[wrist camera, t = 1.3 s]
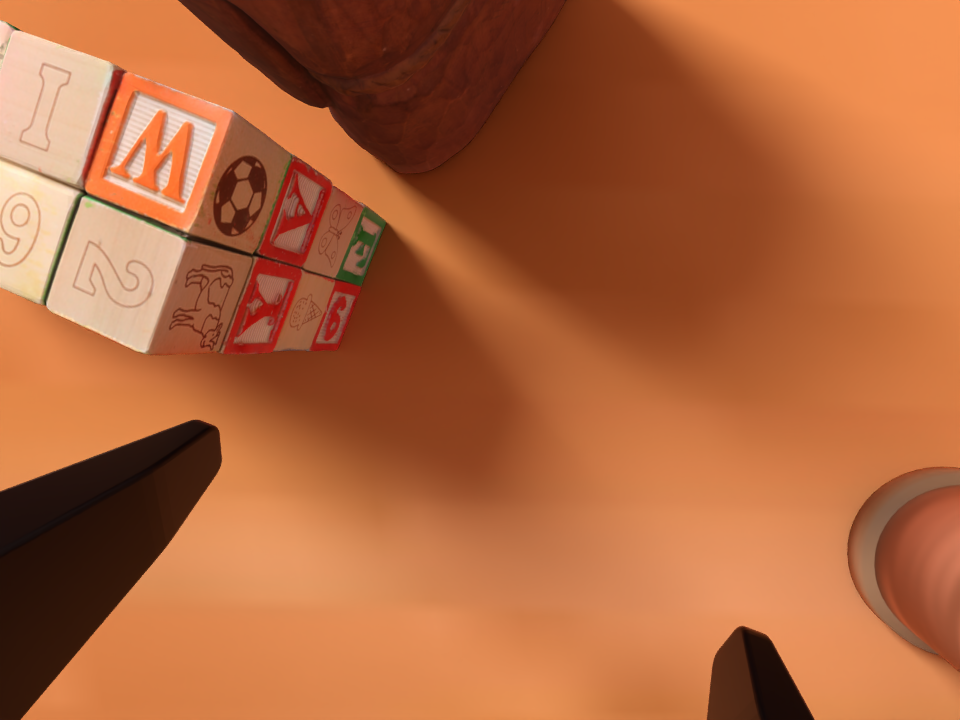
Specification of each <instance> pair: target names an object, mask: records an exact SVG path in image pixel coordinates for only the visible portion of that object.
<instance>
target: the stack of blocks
mask: <svg viewBox="0 0 960 720" xmlns="http://www.w3.org/2000/svg"><path fill="white" fill-rule="evenodd" d="M385 225H386V221H385V220H384V219H382V218H381V217H380V216H379V215H378V214H376V213H375V212H374V211H372V210H371V209H370V208H369V207H367V206H366V205H364V204H363V203H360V202H358V201H355V200H353V199H352V198H351V197H350V196H348V195H347V194H346V193H344V192H343V191H341V190H339V189H338V188H337V187H335V186H332V182H331V180H329V179H328V178H327V177H325V176H324V175H322V174H321V173H319V172H318V171H317V170H315V169H314V168H312V167H311V166H310V165H308V164H307V163H305V162H304V161H302V160H301V159H299V158H298V157H296V156H295V155H293V154H291V153H289V152H288V151H286V150H285V149H284V148H282V147H281V146H280V145H278V144H277V143H276V142H275V141H273V140H272V139H271V138H269V137H268V136H267V135H266V134H264V133H263V132H261V131H260V130H259V129H257V128H256V127H255V126H253V125H252V124H251V123H249V122H248V121H247V120H245V119H244V118H243V117H241V116H240V115H238V114H237V113H235V112H234V111H232V110H229V109H227V108H224V107H222V106H219V105H217V104H214V103H211V102H208V101H206V100H203V99H200V98H197V97H195V96H192V95H189V94H186V93H184V92H181V91H178V90H176V89H173V88H170V87H168V86H165V85H163V84H160V83H157V82H155V81H152V80H149V79H147V78H144V77H141V76H139V75H136V74H133V73H129V72H127V71H126V70H124V69H122V68H120V67H118V66H116V65H114V64H112V63H111V62H108V61H105V60H102V59H100V58H97V57H94V56H91V55H88V54H86V53H83V52H80V51H77V50H74V49H71V48H68V47H65V46H62V45H60V44H57V43H54V42H51V41H48V40H45V39H42V38H39V37H37V36H34V35H31V34H28V33H25V32H23V31H21V30H19V29H18V28H16V27H14V26H12V25H10V24H9V23H7V22H4V21H1V20H0V287H1V288H3V289H5V290H7V291H10V292H12V293H14V294H16V295H18V296H21V297H23V298H25V299H27V300H29V301H32V302H34V303H37V304H41V305H46V306H47V308H48V309H49V310H50V311H51V312H52V313H54V314H56V315H58V316H61V317H63V318H65V319H67V320H69V321H71V322H73V323H76V324H78V325H80V326H82V327H84V328H86V329H88V330H90V331H93V332H95V333H97V334H99V335H101V336H103V337H105V338H107V339H110V340H112V341H114V342H116V343H118V344H120V345H123V346H125V347H127V348H129V349H131V350H133V351H136V352H139V353H143V354H147V355H173V354H201V353H213V352H218V353H222V354H260V353H271V352H272V351H288V350H305V351H323V350H326V351H336V350H337V349H338V347H339V345H340V342H341V340H342V337H343V334H344V332H345V329H346V327H347V324H348V322H349V319H350V317H351V314H352V311H353V309H354V306H355V304H356V301H357V298H358V296H359V293H360V291H361V285H362V283H363V280H364V277H365V275H366V272H367V270H368V267H369V265H370V262H371V260H372V257H373V255H374V252H375V250H376V247H377V245H378V242H379V240H380V237H381V234H382V232H383V230H384V227H385Z"/></svg>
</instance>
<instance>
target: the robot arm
mask: <svg viewBox="0 0 960 720" xmlns="http://www.w3.org/2000/svg"><path fill="white" fill-rule="evenodd" d="M221 462H222V455H221V444H220V433H219V430H218V428H217V427H216V426H214V425H211V424H209V423H206V422H203V421H201V420H191V421H188V422H185V423H183V424H180V425H177V426H175V427H172V428H169V429H167V430H164V431H161V432H158V433H156V434H153V435H150V436H148V437H145V438H142V439H140V440H137V441H134V442H132V443H129V444H126V445H124V446H121V447H118V448H115V449H113V450H110V451H107V452H105V453H102V454H99V455H97V456H94V457H91V458H89V459H86V460H83V461H80V462H78V463H75V464H72V465H70V466H67V467H64V468H62V469H59V470H56V471H54V472H51V473H48V474H46V475H43V476H40V477H37V478H35V479H32V480H29V481H27V482H24V483H21V484H19V485H16V486H13V487H11V488H8V489H5V490H2V491H0V720H21V718H22V717H23V716H24V715H25V714H26V713H27V711H28V710H29V709H30V708H31V707H32V705H33V704H34V703H35V702H36V701H37V700H38V698H39V697H40V696H41V695H42V694H43V692H44V691H45V690H46V689H47V688H48V687H49V685H50V684H51V683H52V682H53V681H54V679H55V678H56V677H57V676H58V675H59V674H60V672H61V671H62V670H63V669H64V668H65V666H66V665H67V664H68V663H69V662H70V661H71V659H72V658H73V657H74V656H75V655H76V653H77V652H78V651H79V650H80V649H81V648H82V646H83V645H84V644H85V643H86V642H87V640H88V639H89V638H90V637H91V636H92V635H93V633H94V632H95V631H96V630H97V629H98V627H99V626H100V625H101V624H102V623H103V622H104V620H105V619H106V618H107V617H108V616H109V614H110V613H111V612H112V611H113V610H114V609H115V607H116V606H117V605H118V604H119V603H120V601H121V600H122V599H123V598H124V597H125V596H126V594H127V593H128V592H129V591H130V590H131V588H132V587H133V586H134V585H135V584H136V583H137V581H138V580H139V579H140V578H141V577H142V575H143V574H144V573H145V572H146V571H147V570H148V568H149V567H150V566H151V565H152V564H153V562H154V561H155V560H156V559H157V558H158V556H159V555H160V554H161V553H162V551H163V550H164V549H165V548H166V547H167V545H168V544H169V542H170V541H171V540H172V538H173V537H174V536H175V534H176V533H177V531H178V530H179V528H180V527H181V525H182V524H183V523H184V521H185V520H186V518H187V517H188V515H189V514H190V512H191V511H192V509H193V508H194V506H195V505H196V504H197V502H198V501H199V499H200V498H201V496H202V495H203V493H204V492H205V490H206V489H207V487H208V486H209V485H210V483H211V482H212V480H213V479H214V477H215V476H216V474H217V473H218V471H219V469H220V466H221ZM707 720H815V719H814V718H813V716H812V714H811V712H810V710H809V708H808V707H807V705H806V703H805V701H804V699H803V697H802V696H801V694H800V692H799V690H798V688H797V686H796V685H795V683H794V681H793V679H792V677H791V675H790V674H789V672H788V670H787V668H786V666H785V665H784V663H783V661H782V659H781V657H780V655H779V654H778V652H777V650H776V648H775V646H774V644H773V643H772V641H771V640H770V638H769V637H768V636H767V635H765V634H763V633H761V632H758V631H756V630H753V629H750V628H748V627H745V626H740V627H737V628H736V629H735V630H734V632H733V633H732V634H731V635H730V637H729V638H728V639H727V640H726V641H725V643H724V644H723V645H722V646H721V648H720V649H719V650H718V652H717V653H716V655H715V658H714V661H713V666H712V675H711V684H710V694H709V704H708V713H707Z"/></svg>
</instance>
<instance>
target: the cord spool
mask: <svg viewBox="0 0 960 720" xmlns="http://www.w3.org/2000/svg"><path fill="white" fill-rule="evenodd" d="M847 555H848V565H849V569H850V573H851V577H852V580H853V582H854V585H855V587H856V589H857V591H858V593H859V594H860V596H861V598H862V599H863V600H864V602H865V603H866V604H867V606H868V607H869V608H870V609H871V610H872V611H873V612H874V613H875V614H876V615H877V616H878V617H879V618H880V619H881V620H882V621H883V622H885V623H886V624H887V625H888V626H889V627H890V628H891V629H892V630H894V631H895V632H896V633H897V634H899V635H900V636H901V637H902V638H903V639H905V640H907V641H908V642H910V643H911V644H913V645H915V646H917V647H919V648H921V649H923V650H925V651H927V652H930V653H933V654H936V655H939V656H941V657H943V658H944V659H945V660H946V661H947V662H948V663H950V664H951V665H952V666H953V667H954V668H956V669H957V670H958V671H959V672H960V468H954V467H932V468H925V469H919V470H915V471H912V472H909V473H905V474H903V475H901V476H899V477H896V478H894V479H892V480H891V481H889V482H887V483H886V484H884V485H883V486H881V487H880V488H879V489H878V490H877V491H875V492H874V493H873V494H872V495H871V496H870V497H869V498H868V499H867V501H866V502H865V503H864V504H863V506H862V507H861V509H860V510H859V512H858V514H857V516H856V518H855V520H854V522H853V525H852V527H851V530H850V535H849V540H848V552H847Z"/></svg>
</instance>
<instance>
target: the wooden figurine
mask: <svg viewBox="0 0 960 720" xmlns="http://www.w3.org/2000/svg"><path fill="white" fill-rule="evenodd" d="M178 1H180V2H181V3H182V4H183V5H184V6H185V7H186V8H187V9H189V10H190V11H191V12H192V13H193V14H194V15H195V16H196V17H197V18H198V19H200V20H201V21H202V22H203V23H204V24H205V25H206V26H207V27H209V28H210V29H211V30H212V31H213V32H214V33H215V34H216V35H218V36H219V37H220V38H221V39H222V40H223V41H224V42H225V43H227V44H228V45H229V46H230V47H232V48H233V49H234V50H236V51H237V52H238V53H239V54H240V55H241V56H242V57H243V58H244V59H245V60H246V61H248V62H249V63H250V64H252V65H253V66H254V67H256V68H257V69H258V70H259V71H261V72H262V73H263V74H264V75H265V76H266V77H268V78H269V79H270V80H271V81H272V82H274V83H275V84H276V85H277V86H278V87H279V88H281V89H282V90H283V91H285V92H286V93H288V94H289V95H291V96H293V97H294V98H296V99H298V100H300V101H302V102H303V103H305V104H308V105H310V106H314V107H318V108H325V107H329V110H330V112H331V114H332V116H333V118H334V119H335V121H336V122H338V124H339V125H340V126H341V127H342V128H343V129H344V131H345V132H346V133H347V134H348V135H349V137H351V138H352V139H353V140H354V141H355V142H356V143H357V144H358V145H359V146H361V147H362V148H363V149H365V150H366V151H368V152H369V153H370V154H372V155H373V156H375V157H376V158H378V159H380V160H382V161H384V162H385V163H386V164H387V165H389V166H390V167H391V168H392V169H394V170H395V171H396V172H399V173H404V174H405V173H421V172H426V171H429V170H432V169H434V168H436V167H438V166H440V165H441V164H443V163H444V162H445V161H447V160H448V159H449V158H451V157H452V156H453V155H455V154H456V153H458V152H459V151H460V150H462V149H463V148H464V147H465V146H466V145H467V144H468V143H469V142H470V141H471V140H472V139H473V138H474V137H475V135H476V134H477V133H478V132H479V130H480V129H481V127H482V126H483V124H484V123H485V121H486V120H487V118H488V117H489V115H490V114H491V113H492V111H493V109H494V108H495V106H496V105H497V103H498V102H499V100H500V99H501V97H502V96H503V94H504V93H505V91H506V90H507V88H508V87H509V85H510V84H511V82H512V81H513V79H514V77H515V76H516V74H517V73H518V71H519V70H520V68H521V67H522V65H523V64H524V63H525V61H526V60H527V59H528V57H529V56H530V55H531V53H532V52H533V51H534V49H535V48H536V47H537V45H538V44H539V43H540V41H541V40H542V38H543V37H544V36H545V34H546V33H547V31H548V30H549V28H550V27H551V25H552V23H553V22H554V20H555V18H556V17H557V15H558V13H559V11H560V10H561V8H562V6H563V5H564V3H565V1H566V0H178Z"/></svg>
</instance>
